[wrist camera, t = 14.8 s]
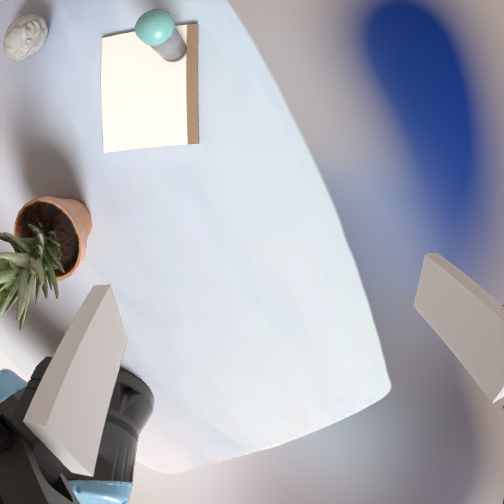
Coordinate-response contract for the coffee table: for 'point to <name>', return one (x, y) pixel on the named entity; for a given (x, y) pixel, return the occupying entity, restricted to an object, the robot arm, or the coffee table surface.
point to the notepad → (148, 93)
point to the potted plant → (42, 250)
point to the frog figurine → (25, 37)
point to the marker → (161, 35)
